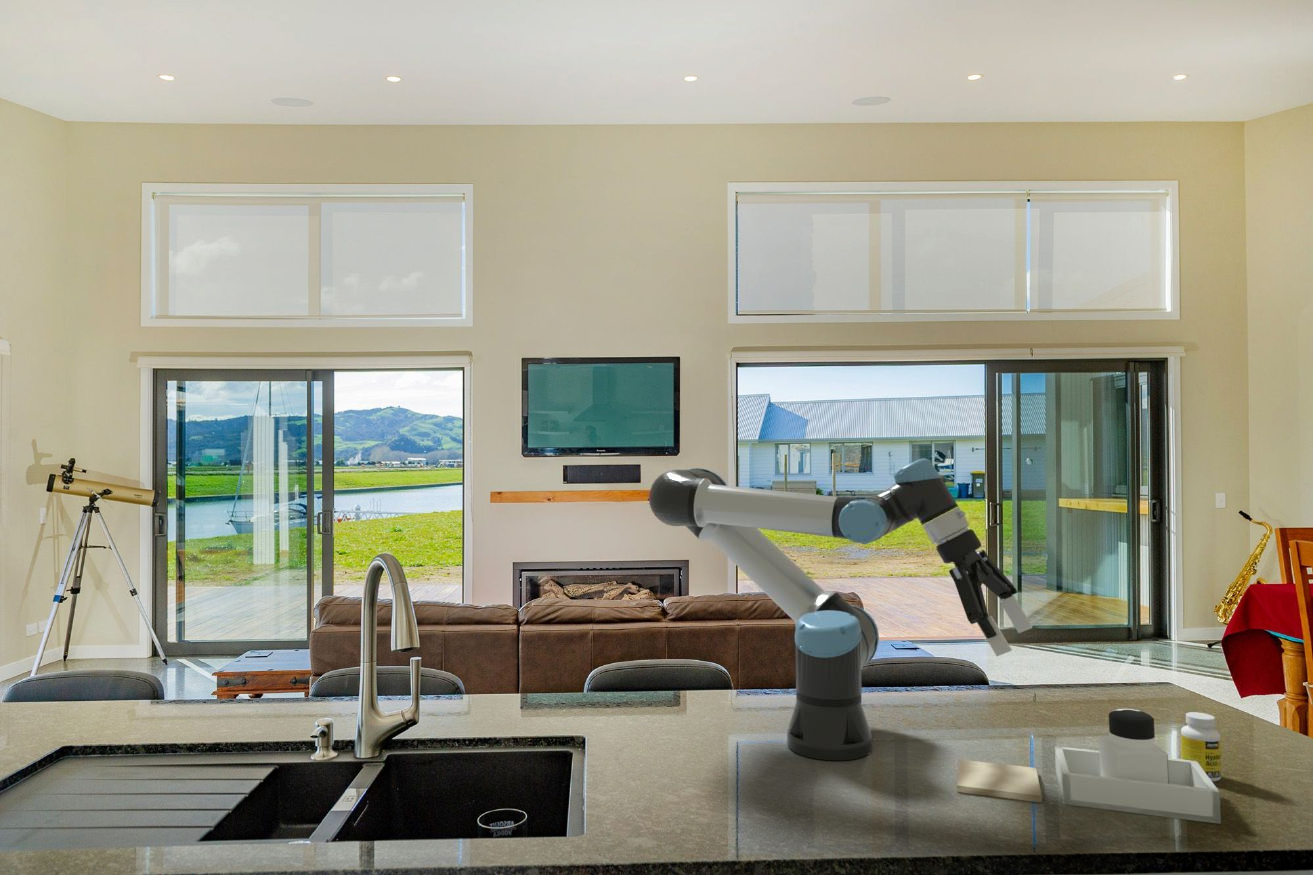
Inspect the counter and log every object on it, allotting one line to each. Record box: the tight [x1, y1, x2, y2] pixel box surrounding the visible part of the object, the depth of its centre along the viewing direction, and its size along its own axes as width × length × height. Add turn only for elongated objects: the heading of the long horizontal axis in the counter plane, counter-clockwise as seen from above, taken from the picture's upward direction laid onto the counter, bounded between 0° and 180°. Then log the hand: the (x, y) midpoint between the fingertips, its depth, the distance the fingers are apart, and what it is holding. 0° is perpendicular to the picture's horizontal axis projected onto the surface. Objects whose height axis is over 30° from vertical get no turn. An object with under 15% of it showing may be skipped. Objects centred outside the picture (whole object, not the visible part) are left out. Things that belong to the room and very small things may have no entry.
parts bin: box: [1054, 745, 1222, 825], centre depth 126 cm, size 20×13×4 cm, turn 69°
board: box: [956, 758, 1043, 803], centre depth 132 cm, size 12×12×1 cm
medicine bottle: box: [1098, 708, 1169, 784], centre depth 126 cm, size 7×7×12 cm
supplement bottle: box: [1180, 711, 1222, 783], centre depth 134 cm, size 5×5×10 cm
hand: (1015, 641), depth 149 cm, fingers open, 13 cm apart
